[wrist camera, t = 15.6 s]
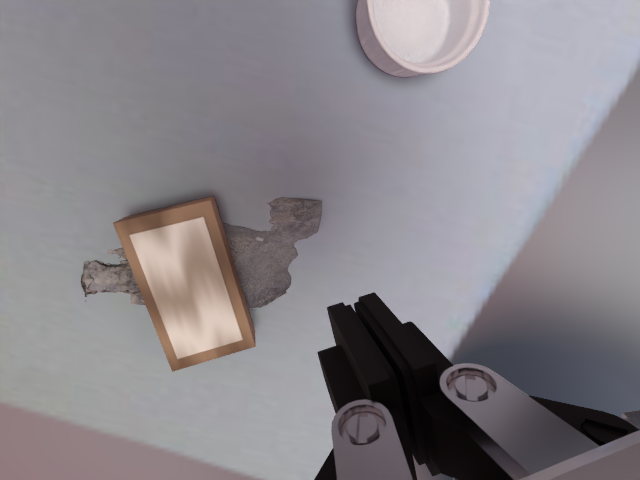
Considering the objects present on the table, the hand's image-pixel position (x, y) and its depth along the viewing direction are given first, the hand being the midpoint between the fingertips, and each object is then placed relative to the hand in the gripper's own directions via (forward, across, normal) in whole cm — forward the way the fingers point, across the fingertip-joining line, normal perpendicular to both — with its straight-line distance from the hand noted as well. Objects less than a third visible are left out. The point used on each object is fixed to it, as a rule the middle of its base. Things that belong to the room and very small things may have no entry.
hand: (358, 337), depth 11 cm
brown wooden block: (+16, +5, +2) cm, 17 cm away
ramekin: (+19, -12, -13) cm, 26 cm away
